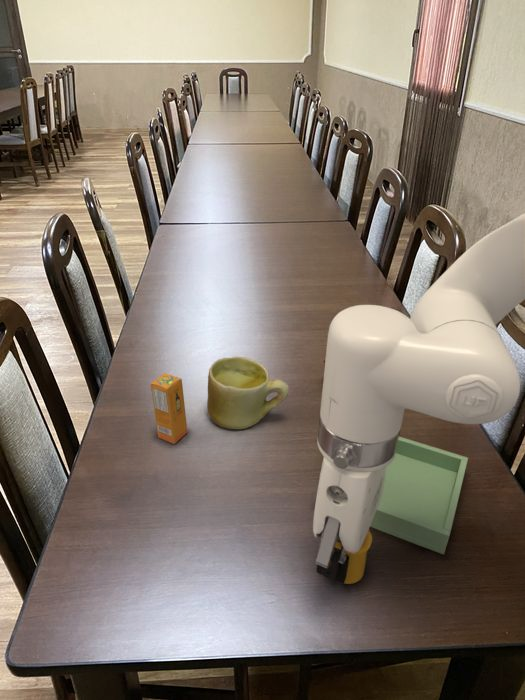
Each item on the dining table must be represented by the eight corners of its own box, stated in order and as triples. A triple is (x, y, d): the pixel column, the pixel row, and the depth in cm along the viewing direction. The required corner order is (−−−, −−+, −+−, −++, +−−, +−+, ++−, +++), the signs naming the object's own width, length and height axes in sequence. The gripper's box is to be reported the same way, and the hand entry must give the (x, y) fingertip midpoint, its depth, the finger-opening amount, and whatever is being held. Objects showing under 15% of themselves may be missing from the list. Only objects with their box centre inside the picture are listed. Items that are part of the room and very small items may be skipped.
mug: (184, 417, 81) (203, 358, 78) (214, 399, 90) (232, 345, 87) (255, 454, 78) (278, 394, 75) (278, 431, 87) (299, 377, 84)
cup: (375, 573, 60) (381, 540, 57) (344, 593, 58) (348, 561, 55) (347, 545, 63) (352, 512, 61) (317, 563, 61) (320, 531, 58)
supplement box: (170, 425, 82) (165, 370, 77) (188, 433, 81) (184, 378, 75) (155, 437, 80) (149, 382, 74) (173, 445, 78) (169, 389, 73)
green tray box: (463, 475, 74) (468, 457, 73) (443, 554, 63) (449, 536, 61) (354, 440, 80) (357, 423, 78) (319, 507, 69) (321, 489, 67)
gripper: (370, 508, 43) (346, 638, 52) (417, 397, 56) (391, 517, 66) (285, 476, 46) (276, 606, 55) (348, 377, 59) (332, 496, 68)
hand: (339, 557), depth 60 cm, fingers closed on cup, 4 cm apart
